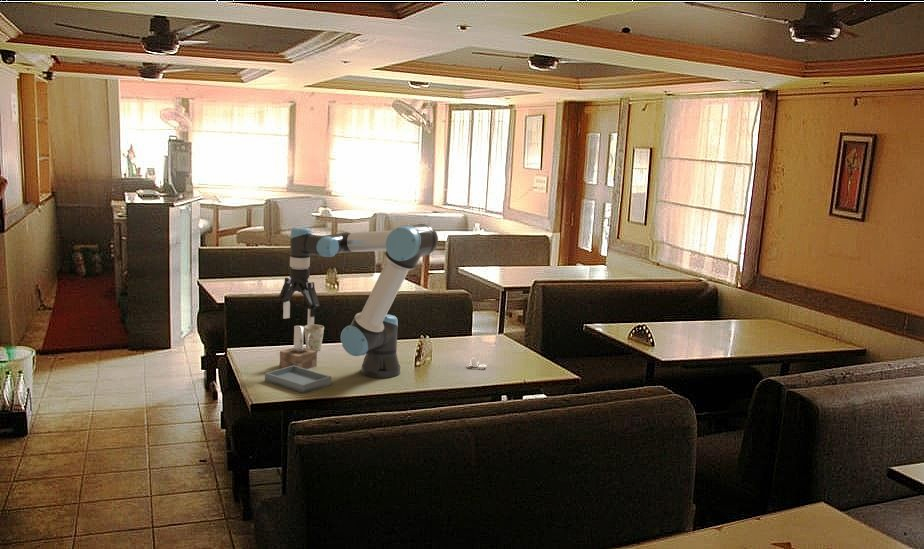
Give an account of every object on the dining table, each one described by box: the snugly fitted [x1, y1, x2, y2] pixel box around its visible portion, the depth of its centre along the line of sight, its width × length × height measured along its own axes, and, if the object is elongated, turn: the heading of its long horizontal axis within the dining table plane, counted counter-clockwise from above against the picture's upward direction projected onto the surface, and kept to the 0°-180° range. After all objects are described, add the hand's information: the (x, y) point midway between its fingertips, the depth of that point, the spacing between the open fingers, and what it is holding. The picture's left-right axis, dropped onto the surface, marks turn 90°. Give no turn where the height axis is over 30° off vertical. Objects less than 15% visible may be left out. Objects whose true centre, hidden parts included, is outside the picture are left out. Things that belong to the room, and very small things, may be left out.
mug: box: [303, 323, 325, 352], centre depth 320 cm, size 8×13×10 cm, turn 174°
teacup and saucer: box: [469, 356, 487, 370], centre depth 310 cm, size 9×8×4 cm
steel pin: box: [293, 325, 305, 354], centre depth 297 cm, size 4×4×16 cm
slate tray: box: [264, 365, 333, 394], centre depth 278 cm, size 20×14×3 cm
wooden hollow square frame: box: [279, 347, 318, 370], centre depth 298 cm, size 10×10×6 cm
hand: (298, 321), depth 295 cm, fingers open, 13 cm apart
